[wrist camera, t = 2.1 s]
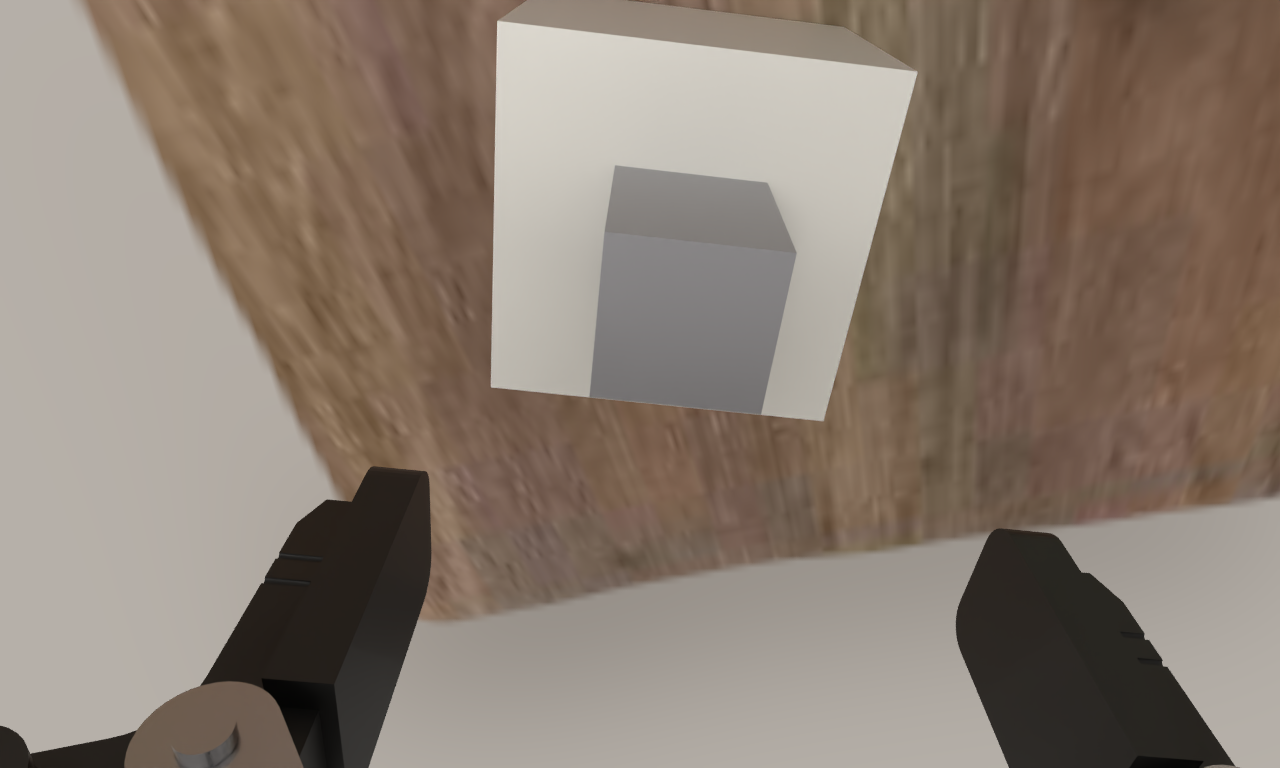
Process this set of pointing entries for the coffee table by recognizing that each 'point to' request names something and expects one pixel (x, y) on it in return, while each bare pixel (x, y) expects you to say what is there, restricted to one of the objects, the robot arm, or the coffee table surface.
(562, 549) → the coffee table surface
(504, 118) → the stacked blocks
